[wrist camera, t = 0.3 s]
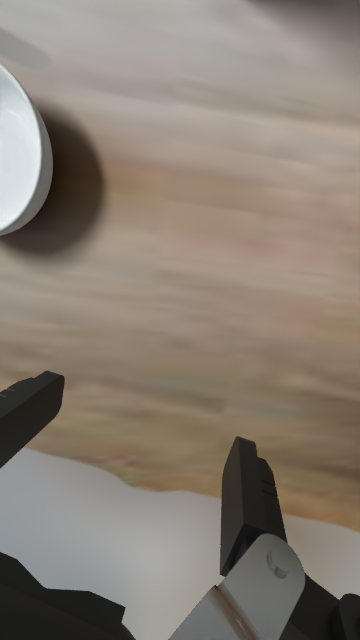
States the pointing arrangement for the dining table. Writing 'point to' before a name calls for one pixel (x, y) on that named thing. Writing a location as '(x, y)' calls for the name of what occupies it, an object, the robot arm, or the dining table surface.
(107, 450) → the dining table surface
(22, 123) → the serving bowl
